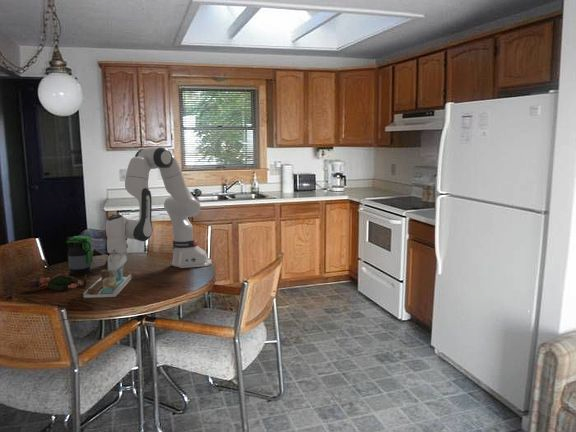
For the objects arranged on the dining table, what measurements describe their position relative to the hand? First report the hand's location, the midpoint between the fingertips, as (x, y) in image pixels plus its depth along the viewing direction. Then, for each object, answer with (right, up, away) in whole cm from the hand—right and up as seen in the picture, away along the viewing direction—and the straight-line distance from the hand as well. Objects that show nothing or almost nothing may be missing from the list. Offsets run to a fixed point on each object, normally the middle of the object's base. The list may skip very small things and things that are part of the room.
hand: (118, 275), depth 227 cm
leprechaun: (-26, -6, -6) cm, 27 cm away
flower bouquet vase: (-14, +1, +37) cm, 39 cm away
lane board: (-3, -5, -5) cm, 8 cm away
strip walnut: (-6, -4, -8) cm, 11 cm away
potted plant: (-27, -2, +20) cm, 33 cm away
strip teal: (+1, -4, -8) cm, 9 cm away
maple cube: (+1, -4, -14) cm, 15 cm away
